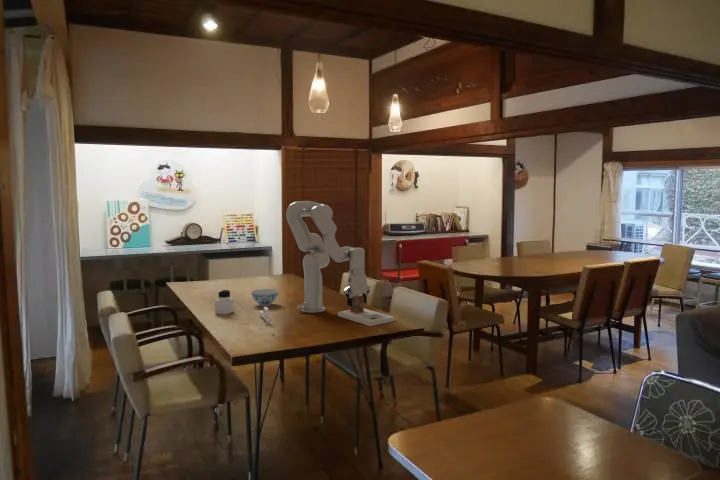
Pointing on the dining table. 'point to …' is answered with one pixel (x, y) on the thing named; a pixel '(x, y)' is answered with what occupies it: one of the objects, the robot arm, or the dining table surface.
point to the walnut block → (357, 304)
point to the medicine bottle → (224, 303)
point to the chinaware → (264, 296)
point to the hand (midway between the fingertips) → (357, 304)
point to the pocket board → (366, 317)
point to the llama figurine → (265, 314)
